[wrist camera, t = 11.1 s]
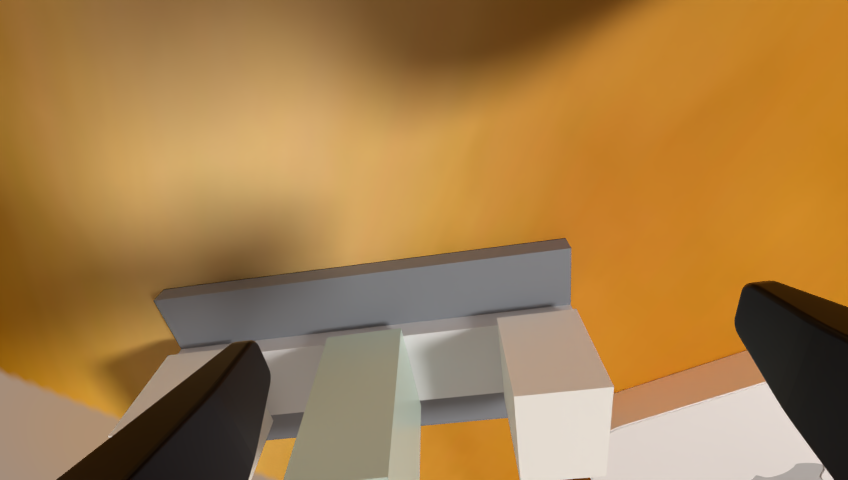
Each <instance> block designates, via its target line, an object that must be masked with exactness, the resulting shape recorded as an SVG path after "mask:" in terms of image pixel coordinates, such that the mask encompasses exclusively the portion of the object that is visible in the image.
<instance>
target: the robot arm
mask: <svg viewBox="0 0 848 480" xmlns="http://www.w3.org/2000/svg"><path fill="white" fill-rule="evenodd" d="M735 328H736V331H737V333H738V335H739V337H740V338H741V340H742V342H743V344H744V345H745V347H746V349H747V350H748V352H749V354H750V355H751V357H752V359H753V360H754V362H755V364H756V366H757V367H758V369H759V371H760V372H761V374H762V376H763V377H764V379H765V381H766V382H767V384H768V386H769V388H770V389H771V391H772V393H773V394H774V396H775V398H776V399H777V401H778V402H779V404H780V406H781V407H782V409H783V410H784V412H785V413H786V415H787V416H788V418H789V419H790V420H791V422H792V423H793V425H794V426H795V427H796V429H797V430H798V432H799V433H800V434H801V436H802V437H803V438H804V440H805V441H806V442H807V444H808V445H809V446H810V448H811V449H812V451H813V452H814V453H815V455H816V456H817V457H818V459H819V460H820V461H821V463H822V464H823V466H824V467H825V468H826V470H827V471H828V472H829V474H830V475H831V476H832V478H833V479H834V480H848V307H846V306H843V305H840V304H838V303H835V302H832V301H829V300H826V299H824V298H821V297H818V296H815V295H812V294H810V293H807V292H804V291H801V290H798V289H795V288H793V287H790V286H787V285H784V284H781V283H779V282H776V281H762V282H753V283H749V284H746V285H745V286H744V287H743V289H742V292H741V296H740V300H739V304H738V308H737V312H736V316H735ZM270 382H271V374H270V370H269V367H268V365H267V363H266V360H265V358H264V356H263V354H262V352H261V349H260V347H259V345H258V344H257V343H256V342H255V341H253V340H247V341H238V342H234V343H231V344H230V345H229V346H227V347H226V348H225V349H224V350H222V351H221V352H220V353H218V354H217V355H216V356H215V357H213V358H212V359H211V360H209V361H208V362H207V363H206V364H204V365H203V366H202V367H200V368H199V369H198V370H197V371H195V372H194V373H193V374H191V375H190V376H189V377H188V378H186V379H185V380H184V381H182V382H181V383H180V384H179V385H177V386H176V387H175V388H173V389H172V390H171V391H170V392H168V393H167V394H166V395H164V396H163V397H162V398H161V399H159V400H158V401H157V402H155V403H154V404H153V405H152V406H150V407H149V408H148V409H146V410H145V411H144V412H143V413H141V414H140V415H139V416H137V417H136V418H135V419H134V420H132V421H131V422H130V423H129V424H127V425H126V426H125V427H123V428H122V429H121V430H120V431H118V432H117V433H116V434H114V435H113V436H112V437H111V438H109V439H108V440H107V441H106V442H104V443H103V444H102V445H100V446H99V447H98V448H96V449H95V450H94V451H93V452H91V453H90V454H89V455H87V456H86V457H85V458H84V459H82V460H81V461H80V462H78V463H77V464H76V465H75V466H73V467H72V468H71V469H70V470H68V471H67V472H66V473H65V474H63V475H62V476H61V477H59V478H58V479H57V480H249V476H250V473H251V470H252V466H253V463H254V459H255V455H256V451H257V447H258V442H259V437H260V432H261V427H262V422H263V417H264V412H265V408H266V403H267V398H268V393H269V388H270Z"/></svg>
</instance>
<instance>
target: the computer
mask: <svg viewBox="0 0 848 480" xmlns="http://www.w3.org/2000/svg"><path fill="white" fill-rule="evenodd" d="M591 480H834V479H833V478H832V476H831V475H830V474H829V472H828V471H827V470H826V468H825V467H824V466H823V464H822V463H821V461H820V460H819V459H818V457H817V456H816V455H815V453H814V452H813V451H812V449H811V448H810V446H809V445H808V444H807V442H806V441H805V440H804V438H803V437H802V436H801V434H800V433H799V432H798V430H797V429H796V427H795V426H794V425H793V423H792V422H791V420H790V419H789V418H788V416H787V415H786V413H785V412H784V410H783V409H782V407H781V406H780V404H779V402H778V401H777V399H776V398H775V396H774V394H773V393H772V391H771V389H770V388H769V386H768V384H767V382H766V381H765V379H764V377H763V376H762V374H761V372H760V371H759V369H758V367H757V366H756V364H755V362H754V360H753V359H752V357H751V355H750V354H749V352H748V350H746V351H743V352H740V353H737V354H734V355H731V356H728V357H725V358H722V359H719V360H716V361H712V362H709V363H706V364H703V365H700V366H697V367H694V368H691V369H688V370H685V371H682V372H679V373H676V374H672V375H669V376H666V377H663V378H660V379H657V380H654V381H651V382H648V383H645V384H642V385H639V386H636V387H632V388H629V389H626V390H623V391H620V392H617V393H614V394H613V404H612V416H611V428H610V439H609V451H608V463H607V475H606V476H603V477H591Z"/></svg>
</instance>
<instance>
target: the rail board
mask: <svg viewBox="0 0 848 480" xmlns="http://www.w3.org/2000/svg"><path fill="white" fill-rule="evenodd" d="M154 302H155V304H156V306H157V308H158V309H159V311H160V313H161V314H162V316H163V318H164V320H165V321H166V323H167V325H168V327H169V328H170V330H171V332H172V334H173V335H174V337H175V339H176V341H177V342H178V344H179V346H180V347H181V350H180V352H179V353H178V354H175V355H168V356H167V358H166V359H165V360H164V362H163V363H162V364H161V366H160V367H159V368H158V370H157V371H156V372H155V374H154V375H153V376H152V378H151V379H150V380H149V382H148V383H147V384H146V386H145V387H144V388H143V390H142V391H141V392H140V394H139V395H138V397H137V398H136V399H135V401H134V402H133V403H132V405H131V406H130V407H129V409H128V410H127V411H126V413H125V414H124V415H123V417H122V418H121V419H120V421H119V422H118V423H117V425H116V426H115V427H114V429H113V430H112V431H111V433H110V434H109V435H108V437H109V438H111V437H112V436H113V435H114V434H116V433H117V432H118V431H120V430H121V429H122V428H123V427H125V426H126V425H127V424H129V423H130V422H131V421H132V420H134V419H135V418H136V417H137V416H139V415H140V414H141V413H143V412H144V411H145V410H146V409H148V408H149V407H150V406H152V405H153V404H154V403H155V402H157V401H158V400H159V399H161V398H162V397H163V396H164V395H166V394H167V393H168V392H170V391H171V390H172V389H173V388H175V387H176V386H177V385H179V384H180V383H181V382H182V381H184V380H185V379H186V378H188V377H189V376H190V375H191V374H193V373H194V372H195V371H197V370H198V369H199V368H200V367H202V366H203V365H204V364H206V363H207V362H208V361H209V360H211V359H212V358H213V357H215V356H216V355H217V354H218V353H220V352H221V351H222V350H224V349H225V348H226V347H227V346H229V345H230V344H231V343H234V342H238V341H247V340H253V341H255V342H256V343H257V344H258V345H259V347H260V349H261V352H262V354H263V356H264V358H265V360H266V363H267V365H268V367H269V370H270V374H271V382H270V388H269V393H268V398H267V403H266V408H265V412H264V417H263V422H262V427H261V432H260V437H259V442H258V447H257V451H256V455H255V459H254V463H253V466H252V470H251V473H250V476H249V480H251V479H252V477H253V474H254V471H255V469H256V466H257V463H258V461H259V458H260V455H261V453H262V450H263V447H264V445H265V442H266V440H274V439H285V438H296V437H297V434H298V431H299V428H300V425H301V421H302V418H303V415H304V412H305V408H306V405H307V402H308V399H309V395H310V392H311V389H312V386H313V382H314V379H315V376H316V373H317V369H318V366H319V363H320V360H321V356H322V353H323V350H324V346H325V343H326V340H327V337H335V336H343V335H351V334H358V333H366V332H374V331H382V330H390V329H398V328H401V330H402V334H403V337H404V341H405V345H406V349H407V353H408V357H409V361H410V365H411V369H412V372H413V376H414V380H415V384H416V388H417V392H418V396H419V400H420V403H421V426H424V425H435V424H445V423H456V422H467V421H477V420H488V419H499V418H508V420H509V425H510V430H511V436H512V441H513V446H514V451H515V457H516V462H517V467H518V472H519V478H520V480H566V479H578V478H591V477H603V476H606V475H607V463H608V451H609V439H610V428H611V416H612V404H613V392H614V386H613V384H612V382H611V380H610V378H609V376H608V373H607V371H606V369H605V367H604V365H603V363H602V361H601V359H600V357H599V355H598V353H597V351H596V349H595V347H594V344H593V342H592V340H591V338H590V336H589V334H588V332H587V330H586V328H585V326H584V324H583V322H582V320H581V318H580V315H579V313H578V311H577V309H572V307H571V305H570V302H571V247H570V245H569V243H568V242H567V240H566V238H564V239H556V240H549V241H541V242H533V243H525V244H517V245H509V246H502V247H494V248H486V249H478V250H470V251H463V252H455V253H447V254H439V255H431V256H423V257H416V258H408V259H400V260H392V261H384V262H376V263H369V264H361V265H353V266H345V267H337V268H329V269H322V270H314V271H306V272H298V273H290V274H283V275H275V276H267V277H259V278H251V279H243V280H236V281H228V282H220V283H212V284H204V285H196V286H189V287H181V288H173V289H165V290H163V291H162V292H161V293H160V294H159V295H158V296H157V297H156V299H155V300H154Z"/></svg>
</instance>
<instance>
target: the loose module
mask: <svg viewBox="0 0 848 480" xmlns="http://www.w3.org/2000/svg"><path fill="white" fill-rule="evenodd" d="M420 434H421V403H420V400H419V396H418V392H417V388H416V384H415V380H414V376H413V372H412V369H411V365H410V361H409V357H408V353H407V349H406V345H405V341H404V337H403V334H402V330H401V328H398V329H390V330H382V331H374V332H366V333H358V334H351V335H343V336H335V337H327V340H326V343H325V346H324V350H323V353H322V356H321V360H320V363H319V366H318V369H317V373H316V376H315V379H314V382H313V386H312V389H311V392H310V395H309V399H308V402H307V405H306V408H305V412H304V415H303V418H302V421H301V425H300V428H299V431H298V434H297V438H296V441H295V444H294V447H293V451H292V454H291V457H290V460H289V464H288V467H287V470H286V473H285V477H284V480H420Z"/></svg>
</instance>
